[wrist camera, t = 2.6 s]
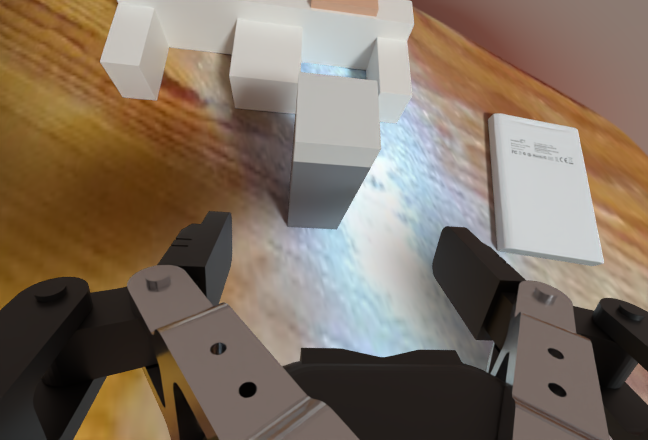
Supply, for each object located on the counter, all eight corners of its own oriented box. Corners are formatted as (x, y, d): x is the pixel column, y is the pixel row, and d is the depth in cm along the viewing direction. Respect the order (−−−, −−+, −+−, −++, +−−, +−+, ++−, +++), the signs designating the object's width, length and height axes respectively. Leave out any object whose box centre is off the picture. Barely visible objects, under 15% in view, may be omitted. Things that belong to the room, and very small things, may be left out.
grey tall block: (287, 226, 23) (295, 141, 13) (289, 181, 25) (298, 72, 14) (336, 229, 24) (381, 149, 14) (336, 185, 25) (377, 80, 15)
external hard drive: (492, 252, 26) (484, 122, 30) (588, 267, 26) (566, 138, 31) (506, 247, 24) (495, 111, 28) (607, 263, 25) (581, 127, 29)
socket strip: (122, 97, 25) (82, 34, 20) (143, 21, 28) (112, -52, 23) (396, 123, 28) (423, 74, 23) (391, 52, 31) (414, -7, 25)
